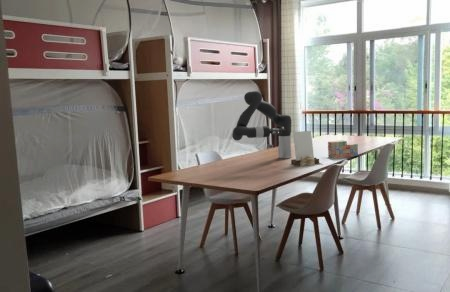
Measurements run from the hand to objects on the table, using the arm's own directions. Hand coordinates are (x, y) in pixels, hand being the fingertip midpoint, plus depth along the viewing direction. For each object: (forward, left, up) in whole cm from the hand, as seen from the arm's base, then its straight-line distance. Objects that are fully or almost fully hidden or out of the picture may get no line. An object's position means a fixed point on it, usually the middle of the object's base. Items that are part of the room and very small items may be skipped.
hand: (285, 130), depth 296 cm
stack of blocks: (+29, +49, -26) cm, 62 cm away
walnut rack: (+12, +6, -25) cm, 29 cm away
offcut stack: (+14, +3, -24) cm, 28 cm away
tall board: (+11, +8, -24) cm, 27 cm away
